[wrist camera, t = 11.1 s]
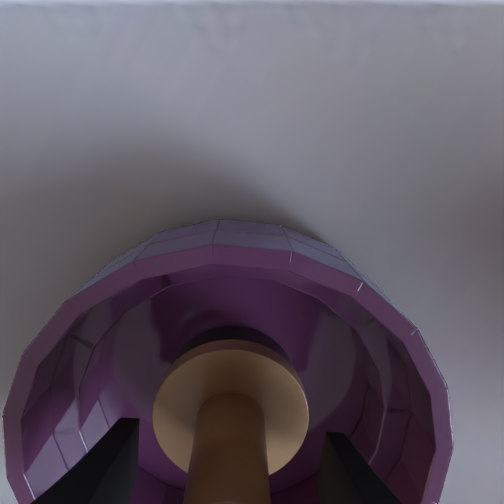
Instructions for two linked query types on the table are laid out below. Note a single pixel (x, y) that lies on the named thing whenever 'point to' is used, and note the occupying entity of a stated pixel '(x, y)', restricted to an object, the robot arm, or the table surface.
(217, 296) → the bowl
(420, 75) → the table surface
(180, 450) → the pot brush
